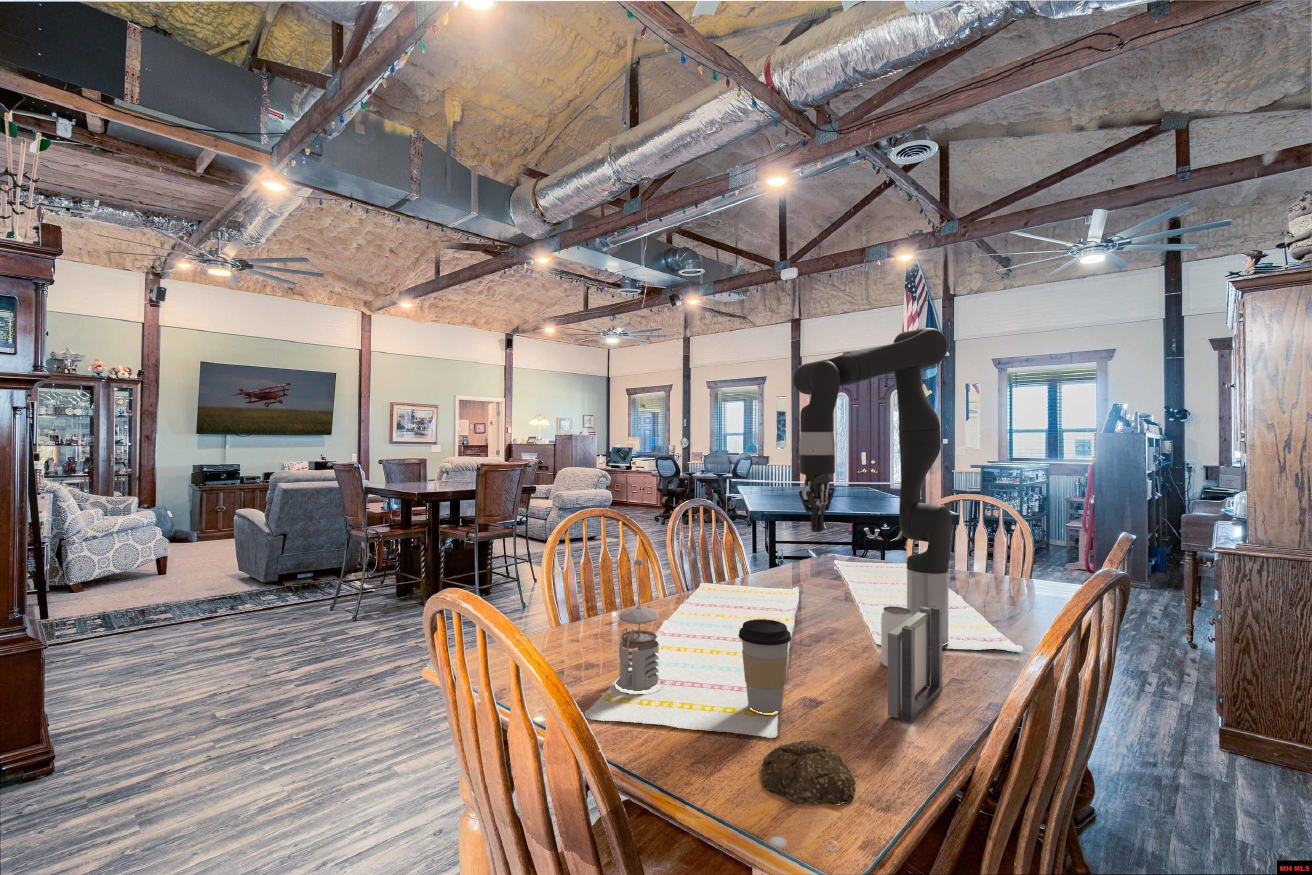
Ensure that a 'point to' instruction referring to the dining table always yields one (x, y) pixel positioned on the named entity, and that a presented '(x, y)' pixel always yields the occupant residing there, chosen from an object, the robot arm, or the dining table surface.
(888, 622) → the can
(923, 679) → the gate
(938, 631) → the gate frame
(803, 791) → the bread roll
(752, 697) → the coffee cup
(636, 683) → the french press
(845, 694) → the dining table surface
